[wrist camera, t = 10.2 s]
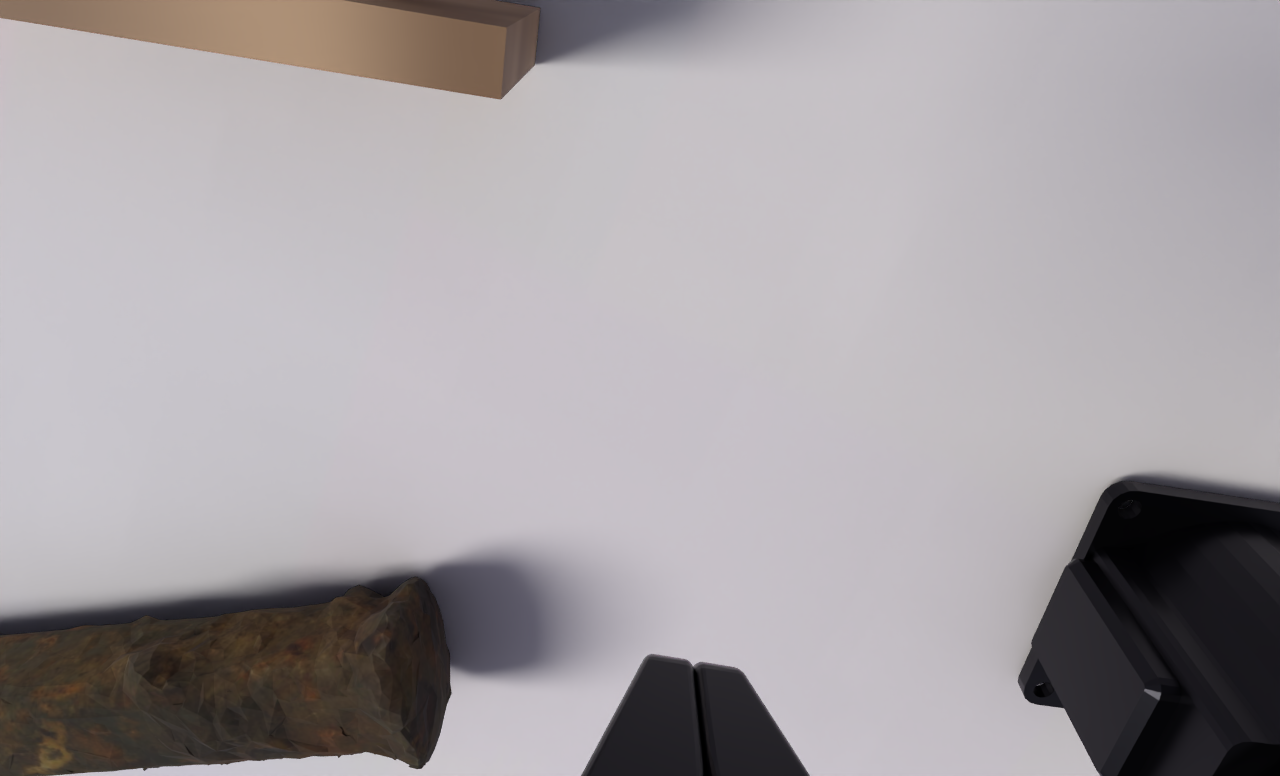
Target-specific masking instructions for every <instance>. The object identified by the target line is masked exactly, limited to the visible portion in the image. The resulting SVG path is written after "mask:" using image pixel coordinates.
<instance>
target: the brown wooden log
mask: <svg viewBox="0 0 1280 776" xmlns="http://www.w3.org/2000/svg"><path fill="white" fill-rule="evenodd" d="M450 696H451V686H450V653H449V650H448V648H447V645H446V640H445V631H444V624H443V619H442V616H441V613H440V610H439V607H438V604H437V602H436V599H435V597H434V596H433V594H432V593H431V591H430V589H429V587H428V585H427V583H426V582H425V581H424V580H422V579H420V578H418V577H413V578H410V579H409V580H407V581H405V582H404V583H402V584H401V585H400V586H399V587H398V588H397V589H396V590H395V591H394V592H393V593H392V594H390V595H389V596H387V597H383V596H381V595H379V594H378V593H376V592H374V591H372V590H370V589H367V588H365V587H363V586H361V585H358V586H355V587H353V588H351V589H349V590H348V591H347V592H346V593H345V595H344V596H341V597H336V598H335V599H334V600H333V601H332V602H327V603H322V604H315V605H307V606H300V607H293V608H269V609H256V610H250V611H244V612H238V613H229V614H223V615H220V616H216V617H203V618H191V619H176V620H159V619H156V618H153V617H150V616H147V615H145V616H144V617H142V618H140V619H138V620H136V621H134V622H132V623H125V624H114V625H111V624H108V625H103V626H95V625H84V626H80V627H75V628H71V629H66V630H55V631H44V632H33V633H21V634H9V635H0V776H51V775H63V774H74V773H87V772H107V771H118V770H126V769H137V768H144V769H143V770H144V771H145V770H146V769H147V768H159V767H162V766H183V765H200V764H204V765H210V764H221V765H222V764H230V763H234V762H240V761H247V760H253V761H261V760H263V761H264V760H267V759H283V758H296V759H301V758H306V757H310V756H338V758H339V757H340V756H341V755H353V754H358V753H363V752H370V753H374V754H378V755H382V756H386V757H390V758H393V759H394V760H396V759H399V760H401V761H403V762H405V763H407V764H409V765H410V766H409V767H411V768H415V769H422V767H423V766H424V765H425V763H426V762H428V761H429V760H430V758H431V756H432V754H433V752H434V750H435V747H436V744H437V741H438V738H439V736H440V732H441V728H442V724H443V719H444V715H445V710H446V706H447V703H448V701H449V698H450Z"/></svg>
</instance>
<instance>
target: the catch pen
mask: <svg viewBox="0 0 1280 776" xmlns="http://www.w3.org/2000/svg"><path fill="white" fill-rule="evenodd" d="M539 17H540V8H538V7H532V6H526V5H520V4H514V3H508V2H502V1H496V0H0V18H5V19H11V20H17V21H23V22H30V23H36V24H42V25H48V26H54V27H60V28H66V29H72V30H79V31H85V32H91V33H97V34H103V35H109V36H115V37H121V38H128V39H134V40H140V41H146V42H152V43H158V44H164V45H170V46H177V47H183V48H189V49H195V50H201V51H207V52H213V53H219V54H226V55H232V56H238V57H244V58H250V59H256V60H262V61H268V62H275V63H281V64H287V65H293V66H299V67H305V68H311V69H317V70H324V71H330V72H336V73H342V74H348V75H354V76H360V77H366V78H373V79H379V80H385V81H391V82H397V83H403V84H409V85H415V86H422V87H428V88H434V89H440V90H446V91H452V92H458V93H464V94H471V95H477V96H483V97H489V98H495V99H502V98H503V97H504V96H505V95H506V94H507V93H508V92H509V91H510V90H511V89H512V88H513V87H514V86H515V85H516V84H517V83H518V82H519V81H520V80H521V79H522V77H523V76H524V75H525V74H526V73H527V72H528V71H529V70H530V69H531V68H532V67H533V66H534V65H535V57H536V47H537V37H538V27H539Z"/></svg>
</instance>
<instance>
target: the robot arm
mask: <svg viewBox="0 0 1280 776" xmlns="http://www.w3.org/2000/svg"><path fill="white" fill-rule="evenodd" d="M1128 500H1133V501H1132V503H1131V504H1130V505H1129V506H1127V507H1125V508H1123V509H1119V507H1120V506H1121V504H1122V503H1124V502H1126V501H1128ZM1031 644H1032V648H1031V650H1030V653H1029V655H1028V657H1027V659H1026V661H1025V664H1024V666H1023V668H1022V670H1021V672H1020V675H1019V678H1018V683H1019V686H1020V688H1021V690H1022V692H1023V694H1024V697H1025V699H1027V700H1028V701H1029V702H1030V703H1034V704H1037V705H1045V706H1052V707H1060V708H1064V709H1065V710H1066V712H1067V714H1068V716H1069V718H1070V720H1071V722H1072V724H1073V726H1074V728H1075V730H1076V732H1077V733H1078V735H1079V737H1080V739H1081V741H1082V743H1083V745H1084V747H1085V749H1086V751H1087V753H1088V755H1089V756H1090V758H1091V760H1092V762H1093V764H1094V766H1095V768H1096V770H1097V771H1098V773H1099V774H1100V776H1280V503H1275V502H1268V501H1261V500H1254V499H1248V498H1241V497H1234V496H1227V495H1220V494H1214V493H1207V492H1200V491H1193V490H1186V489H1180V488H1173V487H1166V486H1159V485H1153V484H1146V483H1139V482H1132V481H1121V482H1118V483H1115V484H1113V485H1111V486H1110V487H1109V488H1107V489H1106V490H1105V491H1104V492H1103V494H1102V495H1101V497H1100V499H1099V501H1098V503H1097V506H1096V508H1095V510H1094V512H1093V514H1092V516H1091V519H1090V521H1089V523H1088V525H1087V527H1086V530H1085V532H1084V534H1083V536H1082V538H1081V541H1080V543H1079V545H1078V547H1077V549H1076V552H1075V554H1074V556H1073V558H1072V560H1071V562H1070V563H1069V564H1068V565H1067V566H1066V567H1065V569H1064V571H1063V573H1062V575H1061V578H1060V580H1059V582H1058V584H1057V586H1056V589H1055V591H1054V593H1053V595H1052V597H1051V600H1050V602H1049V604H1048V606H1047V608H1046V611H1045V613H1044V615H1043V617H1042V619H1041V622H1040V624H1039V626H1038V628H1037V630H1036V633H1035V635H1034V637H1033V639H1032V642H1031ZM1044 682H1045V683H1044ZM1040 683H1044V684H1042V685H1039V686H1036V685H1038V684H1040ZM581 776H810V775H809V774H808V772H807V771H806V769H805V767H804V766H803V764H802V763H801V761H800V760H799V758H798V757H797V755H796V753H795V752H794V750H793V749H792V747H791V746H790V744H789V743H788V741H787V739H786V738H785V736H784V735H783V733H782V732H781V730H780V729H779V727H778V726H777V724H776V722H775V721H774V719H773V718H772V716H771V715H770V713H769V712H768V710H767V708H766V707H765V705H764V704H763V702H762V701H761V699H760V698H759V696H758V694H757V693H756V691H755V690H754V688H753V687H752V685H751V684H750V682H749V680H748V679H747V677H746V676H745V675H744V673H743V672H742V671H740V670H739V669H737V668H735V667H730V666H724V665H718V664H711V663H705V662H699V663H697V664H695V665H694V666H692V664H691V663H690V662H689V661H688V660H686V659H681V658H674V657H668V656H662V655H656V654H650V655H648V656H646V657H645V658H644V660H643V662H642V663H641V665H640V667H639V669H638V671H637V673H636V675H635V677H634V678H633V680H632V682H631V684H630V686H629V688H628V690H627V691H626V693H625V695H624V697H623V699H622V701H621V703H620V704H619V706H618V708H617V710H616V712H615V714H614V716H613V718H612V719H611V721H610V723H609V725H608V727H607V729H606V731H605V732H604V734H603V736H602V738H601V740H600V742H599V744H598V745H597V747H596V749H595V751H594V753H593V755H592V757H591V759H590V760H589V762H588V764H587V766H586V768H585V770H584V772H583V773H582V775H581Z"/></svg>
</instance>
